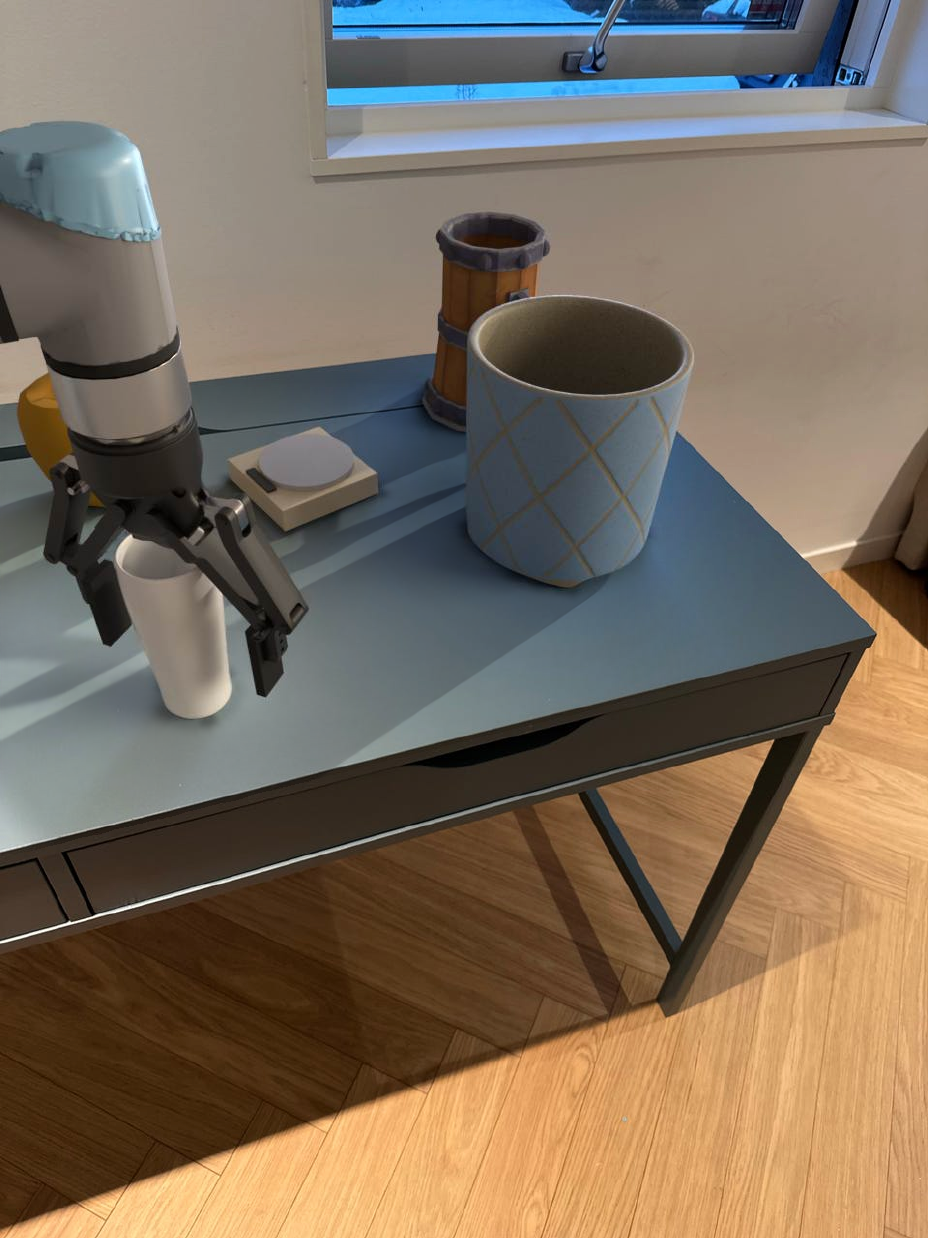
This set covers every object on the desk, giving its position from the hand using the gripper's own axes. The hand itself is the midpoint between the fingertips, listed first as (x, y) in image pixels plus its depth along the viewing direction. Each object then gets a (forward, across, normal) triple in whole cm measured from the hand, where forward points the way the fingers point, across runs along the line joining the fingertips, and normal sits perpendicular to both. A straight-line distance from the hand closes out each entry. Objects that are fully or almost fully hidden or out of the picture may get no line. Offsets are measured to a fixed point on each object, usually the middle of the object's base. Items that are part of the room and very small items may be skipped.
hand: (192, 659), depth 69 cm
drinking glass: (+4, 0, 0) cm, 4 cm away
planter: (+5, -20, -32) cm, 38 cm away
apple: (+4, +24, -20) cm, 32 cm away
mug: (+5, -6, -51) cm, 52 cm away
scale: (+4, +6, -29) cm, 30 cm away
